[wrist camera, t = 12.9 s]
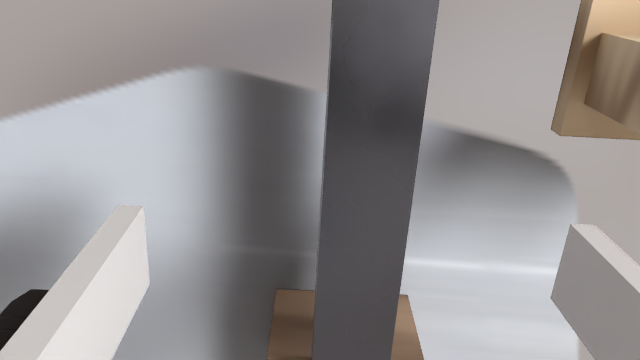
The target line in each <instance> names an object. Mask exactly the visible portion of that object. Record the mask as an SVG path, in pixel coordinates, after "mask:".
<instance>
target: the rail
mask: <svg viewBox="0 0 640 360" xmlns="http://www.w3.org/2000/svg"><path fill="white" fill-rule="evenodd" d="M438 7H439V0H332V18H331V35H330V51H329V52H330V53H329V67H328V85H327V101H326V117H325V134H324V151H323V167H322V184H321V201H320V218H319V234H318V251H317V268H316V285H315V301H314V318H313V335H312V351H311V360H390V359H391V352H392V345H393V337H394V330H395V323H396V315H397V308H398V301H399V293H400V286H401V278H402V271H403V264H404V256H405V249H406V242H407V234H408V227H409V220H410V212H411V205H412V198H413V190H414V183H415V176H416V168H417V161H418V154H419V146H420V139H421V131H422V124H423V117H424V109H425V102H426V95H427V87H428V80H429V73H430V65H431V58H432V50H433V43H434V35H435V28H436V21H437V14H438Z"/></svg>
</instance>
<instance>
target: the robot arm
mask: <svg viewBox="0 0 640 360" xmlns="http://www.w3.org/2000/svg"><path fill="white" fill-rule="evenodd" d="M149 285H150V276H149V264H148V253H147V241H146V229H145V218H144V206H126V205H118V206H117V207H116V208H115V209H114V211H113V212H112V213H111V214H110V216H109V217H108V218H107V219H106V221H105V222H104V223H103V224H102V225H101V227H100V228H99V229H98V230H97V232H96V233H95V234H94V235H93V237H92V238H91V239H90V240H89V242H88V243H87V244H86V245H85V247H84V248H83V249H82V250H81V252H80V253H79V254H78V255H77V257H76V258H75V259H74V260H73V261H72V263H71V264H70V265H69V266H68V268H67V269H66V270H65V271H64V273H63V274H62V275H61V276H60V278H59V279H58V280H57V281H56V283H55V284H54V285H53V286H52V288H51V289H50V290H35V289H31V290H29V291H28V292H26V293H25V294H23V295H21V296H20V297H18V298H17V299H15V300H13V301H12V302H11V303H10V304H9V305H8V306H7V307H6V308H5V310H4V311H3V312H2V313H1V314H0V360H112V358H113V356H114V354H115V352H116V350H117V348H118V346H119V344H120V342H121V340H122V338H123V336H124V334H125V332H126V330H127V328H128V326H129V324H130V322H131V320H132V318H133V316H134V314H135V312H136V310H137V308H138V307H139V305H140V303H141V301H142V299H143V297H144V295H145V293H146V291H147V289H148V287H149ZM551 299H552V301H553V302H554V303H555V305H556V306H557V308H558V309H559V310H560V312H561V313H562V315H563V316H564V317H565V319H566V320H567V322H568V323H569V324H570V326H571V327H572V329H573V330H574V331H575V333H576V334H577V335H578V337H579V338H580V340H581V341H582V342H583V344H584V345H585V347H586V348H587V349H588V351H589V352H590V354H591V355H592V356H593V358H594V359H595V360H640V266H639V265H638V264H637V263H636V262H635V261H633V260H632V259H631V258H630V257H629V256H628V255H627V254H626V253H625V252H624V251H623V250H621V249H620V248H619V247H618V246H617V245H616V244H615V243H614V242H613V241H612V240H611V239H609V238H608V237H607V236H606V235H605V234H604V233H603V232H602V231H601V230H600V229H599V228H597V227H596V226H595V225H585V224H570V228H569V231H568V235H567V239H566V242H565V246H564V250H563V254H562V257H561V261H560V265H559V269H558V272H557V276H556V280H555V283H554V287H553V291H552V295H551Z"/></svg>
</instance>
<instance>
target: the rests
mask: <svg viewBox="0 0 640 360" xmlns="http://www.w3.org/2000/svg"><path fill="white" fill-rule="evenodd" d="M314 301H315V291H309V290H288V289H276V295H275V303H274V310H273V317H272V324H271V331H270V338H269V345H268V352H267V360H311V351H312V335H313V318H314ZM390 360H424V358H423V354H422V350H421V346H420V342H419V338H418V334H417V330H416V326H415V322H414V318H413V315H412V311H411V307H410V303H409V299H408V295H399V301H398V308H397V315H396V323H395V330H394V337H393V345H392V352H391V359H390Z"/></svg>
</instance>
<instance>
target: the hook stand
mask: <svg viewBox="0 0 640 360" xmlns="http://www.w3.org/2000/svg"><path fill="white" fill-rule="evenodd" d="M551 130H553V131H554V132H556V133H557V134H558V135H560V136H573V137H592V138H611V139H629V140H630V139H631V140H640V0H581V4H580V8H579V12H578V16H577V21H576V25H575V29H574V34H573V38H572V42H571V46H570V50H569V54H568V58H567V63H566V67H565V71H564V75H563V79H562V84H561V88H560V92H559V96H558V101H557V105H556V109H555V113H554V117H553V122H552V126H551Z"/></svg>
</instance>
